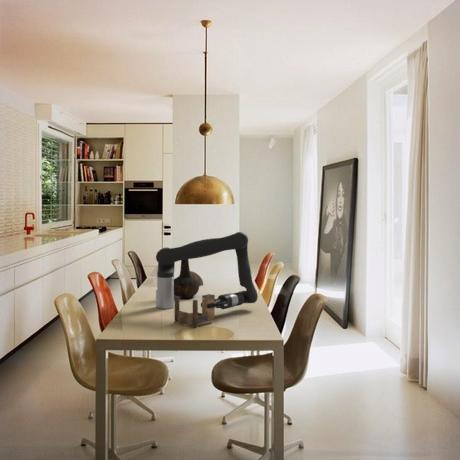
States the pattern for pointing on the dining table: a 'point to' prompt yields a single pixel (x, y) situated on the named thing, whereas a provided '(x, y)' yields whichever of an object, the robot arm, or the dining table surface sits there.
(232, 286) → the dining table surface
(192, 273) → the decorative dome
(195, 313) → the board
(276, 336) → the dining table surface
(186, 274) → the glass bottle
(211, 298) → the brown wooden block
